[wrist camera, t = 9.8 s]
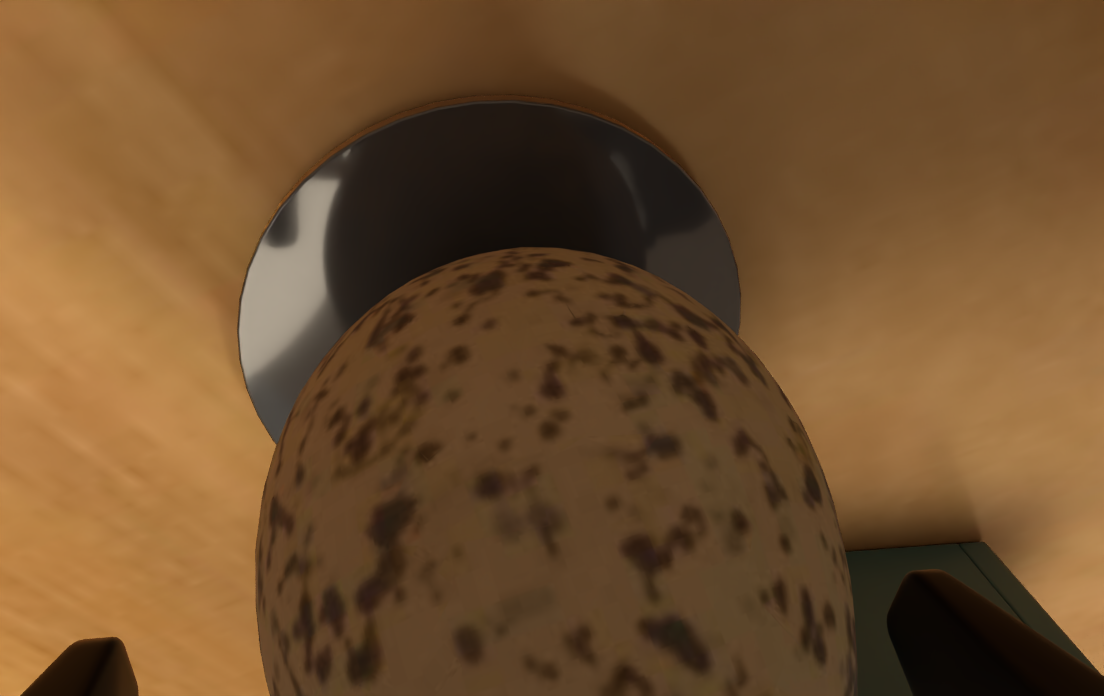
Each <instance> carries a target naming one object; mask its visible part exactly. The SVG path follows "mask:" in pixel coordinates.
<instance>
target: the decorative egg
mask: <svg viewBox="0 0 1104 696" xmlns="http://www.w3.org/2000/svg"><path fill="white" fill-rule="evenodd" d="M255 560H256V612H257V622H258V632H259V642H260V651H261V656H262V662H263V667H264V672H265V677H266V682H267V686H268V689H269V693H270V696H857V648H856V632H855V618H854V607H853V596H852V587H851V580H850V574H849V569H848V564H847V559H846V554H845V549H844V544H843V541H842V537H841V533H840V529H839V524H838V520H837V516H836V511H835V507H834V502H833V499H832V496H831V493H830V490H829V488H828V485H827V482H826V479H825V476H824V473H823V470H822V468H821V465H820V463H819V460H818V458H817V455H816V453H815V451H814V449H813V447H812V444H811V442H810V440H809V438H808V436H807V433H806V431H805V429H804V427H803V425H802V422H801V421H800V419H799V417H798V415H797V414H796V412H795V410H794V409H793V407H792V405H791V403H790V402H789V400H788V399H787V397H786V396H785V394H784V393H783V391H782V390H781V388H780V387H779V385H778V384H777V382H776V381H775V380H774V378H773V377H772V375H771V374H770V373H769V371H768V370H767V369H766V367H765V366H764V364H763V363H762V362H761V361H760V359H759V358H758V357H757V356H756V354H755V353H754V352H753V351H752V350H751V349H750V348H749V347H748V346H747V345H746V344H745V343H744V342H743V341H742V340H741V339H740V338H739V337H738V335H737V334H736V333H735V332H734V331H733V330H732V329H731V328H729V327H728V326H727V325H726V324H725V323H724V322H723V321H721V320H720V319H719V318H718V317H717V316H716V315H715V314H713V313H712V312H711V311H710V310H709V309H707V308H706V307H705V306H703V305H702V304H700V303H699V302H698V301H696V300H695V299H693V298H692V297H691V296H689V295H688V294H686V293H685V292H683V291H681V290H680V289H678V288H676V287H675V286H673V285H671V284H670V283H668V282H666V281H665V280H663V279H661V278H660V277H658V276H655V275H653V274H651V273H649V272H647V271H644V270H642V269H640V268H638V267H636V266H633V265H630V264H627V263H624V262H621V261H618V260H615V259H612V258H609V257H605V256H601V255H598V254H594V253H590V252H583V251H576V250H570V249H563V248H544V247H520V248H512V249H505V250H499V251H493V252H488V253H483V254H477V255H474V256H470V257H466V258H463V259H459V260H456V261H454V262H451V263H449V264H446V265H444V266H441V267H438V268H436V269H433V270H431V271H429V272H427V273H425V274H423V275H421V276H419V277H417V278H415V279H413V280H411V281H409V282H408V283H406V284H405V285H403V286H401V287H400V288H398V289H397V290H395V291H393V292H392V293H390V294H389V295H387V296H386V297H385V298H383V299H382V300H381V301H380V302H378V303H377V304H376V305H374V306H373V307H372V308H371V309H370V310H368V311H367V312H366V313H365V314H364V315H363V316H362V317H361V318H360V319H359V320H358V321H356V322H355V323H354V324H353V325H352V326H351V327H350V328H349V329H348V330H347V331H346V332H345V333H344V334H343V335H342V336H341V337H340V339H339V340H338V341H337V342H336V343H335V344H334V346H333V347H332V348H331V349H330V350H329V352H328V353H327V354H326V355H325V357H324V358H323V359H322V360H321V362H320V363H319V364H318V366H317V367H316V369H315V371H314V372H313V374H312V375H311V377H310V378H309V380H308V381H307V383H306V385H305V386H304V388H303V389H302V391H301V392H300V394H299V396H298V398H297V400H296V402H295V404H294V406H293V408H292V410H291V412H290V414H289V416H288V418H287V420H286V423H285V426H284V428H283V431H282V433H281V436H280V438H279V441H278V443H277V446H276V448H275V451H274V455H273V458H272V462H271V465H270V469H269V472H268V476H267V479H266V483H265V487H264V491H263V496H262V503H261V511H260V518H259V526H258V534H257V541H256V550H255Z"/></svg>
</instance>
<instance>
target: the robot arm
mask: <svg viewBox="0 0 1104 696" xmlns="http://www.w3.org/2000/svg"><path fill="white" fill-rule="evenodd" d="M887 629H888V633H889V636H890V639H891V641H892V644H893V647H894V649H895V652H896V654H897V657H898V659H899V662H900V664H901V667H902V669H903V672H904V674H905V677H906V679H907V682H908V684H909V687H910V689H911V692H912V694H913V696H1104V676H1103V675H1101V674H1100V673H1098V672H1097V671H1095V670H1094V669H1092V668H1091V667H1089V666H1088V665H1086V664H1084V663H1083V662H1081V661H1080V660H1078V659H1077V658H1075V657H1074V656H1072V655H1071V654H1069V653H1068V652H1066V651H1065V650H1063V649H1062V648H1060V647H1059V646H1057V645H1056V644H1054V643H1053V642H1051V641H1050V640H1048V639H1047V638H1045V637H1044V636H1042V635H1041V634H1039V633H1038V632H1036V631H1035V630H1033V629H1032V628H1030V627H1029V626H1027V625H1026V624H1024V623H1023V622H1021V621H1020V620H1018V619H1017V618H1015V617H1014V616H1012V615H1011V614H1009V613H1008V612H1006V611H1004V610H1003V609H1001V608H1000V607H998V606H997V605H995V604H994V603H992V602H991V601H989V600H988V599H986V598H985V597H983V596H982V595H980V594H979V593H977V592H976V591H974V590H973V589H971V588H970V587H968V586H967V585H965V584H964V583H962V582H961V581H959V580H958V579H956V578H955V577H953V576H952V575H950V574H948V573H947V572H945V571H942V570H939V569H928V570H916V571H911V572H909V573H907V574H906V575H905V576H904V578H903V580H902V582H901V584H900V586H899V589H898V591H897V593H896V595H895V597H894V600H893V602H892V604H891V606H890V608H889V611H888V613H887ZM20 696H138V685H137V681H136V678H135V675H134V672H133V670H132V667H131V664H130V661H129V658H128V655H127V652H126V649H125V646H124V644H123V642H122V641H121V640H120V639H119V638H117V637H107V638H95V639H84V640H79V641H77V642H75V643H73V644H72V645H70V646H69V647H68V648H67V649H66V650H65V651H64V652H63V653H62V654H61V655H60V656H59V657H58V658H57V659H56V660H55V661H54V662H53V663H52V664H51V665H50V666H49V667H48V668H47V669H46V670H45V671H44V672H43V673H42V674H41V675H40V676H39V677H38V678H37V679H36V680H35V681H34V682H33V683H32V684H31V685H30V686H29V687H28V688H27V689H26V690H25V691H24V692H23V693H22V694H21V695H20Z"/></svg>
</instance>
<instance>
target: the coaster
mask: <svg viewBox="0 0 1104 696" xmlns="http://www.w3.org/2000/svg"><path fill="white" fill-rule="evenodd" d="M520 247H544V248H563V249H570V250H576V251H583V252H590V253H594V254H598V255H601V256H605V257H609V258H612V259H615V260H618V261H621V262H624V263H627V264H630V265H633V266H636V267H638V268H640V269H642V270H644V271H647V272H649V273H651V274H653V275H655V276H658V277H660V278H661V279H663V280H665V281H666V282H668V283H670V284H671V285H673V286H675V287H676V288H678V289H680V290H681V291H683V292H685V293H686V294H688V295H689V296H691V297H692V298H693V299H695V300H696V301H698V302H699V303H700V304H702V305H703V306H705V307H706V308H707V309H709V310H710V311H711V312H712V313H713V314H715V315H716V316H717V317H718V318H719V319H720V320H721V321H723V322H724V323H725V324H726V325H727V326H728V327H729V328H731V329H732V330H733V331H734V332H735V333H736V334H737V335H738V334H739V328H740V311H741V292H740V284H739V277H738V269H737V264H736V261H735V257H734V254H733V250H732V247H731V243H730V240H729V238H728V236H727V233H726V231H725V229H724V227H723V225H722V223H721V220H720V218H719V216H718V214H717V212H716V211H715V209H714V208H713V206H712V205H711V203H710V202H709V200H708V199H707V197H706V196H705V194H704V193H703V191H702V190H701V188H700V187H699V186H698V185H697V184H696V183H695V182H694V180H693V179H692V178H691V177H690V176H689V175H688V174H687V173H686V172H685V171H684V170H683V169H682V167H681V166H680V165H679V164H678V163H677V162H676V161H675V160H674V159H673V158H672V157H671V156H669V155H668V154H667V153H666V152H664V151H663V150H662V149H661V148H659V147H658V146H657V145H656V144H654V143H653V142H652V141H651V140H649V139H648V138H647V137H645V136H643V135H641V134H640V133H638V132H636V131H635V130H633V129H631V128H629V127H628V126H626V125H624V124H623V123H621V122H619V121H617V120H615V119H612V118H610V117H607V116H605V115H602V114H600V113H597V112H595V111H593V110H590V109H588V108H585V107H581V106H577V105H573V104H569V103H565V102H561V101H557V100H553V99H548V98H539V97H529V96H520V95H483V96H469V97H463V98H457V99H451V100H445V101H439V102H434V103H431V104H428V105H424V106H421V107H418V108H415V109H411V110H408V111H405V112H402V113H398V114H396V115H394V116H392V117H390V118H388V119H385V120H383V121H381V122H379V123H377V124H375V125H373V126H370V127H368V128H366V129H364V130H362V131H361V132H359V133H358V134H356V135H355V136H353V137H351V138H350V139H348V140H347V141H345V142H344V143H342V144H341V145H339V146H337V147H336V148H334V149H333V150H331V151H330V152H329V153H328V154H327V155H326V156H325V157H323V158H322V159H321V160H320V161H319V162H318V163H317V164H315V165H314V166H313V167H312V168H311V169H310V170H308V171H307V172H306V173H305V174H304V175H303V176H302V177H301V179H300V180H299V181H298V182H297V183H296V184H295V186H294V187H293V188H292V189H291V190H290V191H289V193H288V194H287V195H286V196H285V197H284V198H283V200H282V201H281V202H280V204H279V205H278V207H277V209H276V210H275V212H274V213H273V215H272V217H271V218H270V220H269V221H268V223H267V225H266V226H265V228H264V229H263V232H262V234H261V236H260V239H259V241H258V243H257V246H256V248H255V250H254V253H253V255H252V258H251V260H250V262H249V265H248V267H247V271H246V275H245V279H244V283H243V287H242V291H241V295H240V299H239V311H238V323H237V337H238V349H239V360H240V364H241V368H242V372H243V376H244V381H245V385H246V388H247V391H248V393H249V396H250V398H251V400H252V403H253V405H254V408H255V410H256V412H257V415H258V417H259V418H260V420H261V422H262V423H263V425H264V426H265V428H266V430H267V431H268V433H269V435H270V436H271V438H272V440H273V441H274V442H275V443H276V445H277V443H278V441H279V438H280V436H281V433H282V431H283V428H284V426H285V423H286V420H287V418H288V416H289V414H290V412H291V410H292V408H293V406H294V404H295V402H296V400H297V398H298V396H299V394H300V392H301V391H302V389H303V388H304V386H305V385H306V383H307V381H308V380H309V378H310V377H311V375H312V374H313V372H314V371H315V369H316V367H317V366H318V364H319V363H320V362H321V360H322V359H323V358H324V357H325V355H326V354H327V353H328V352H329V350H330V349H331V348H332V347H333V346H334V344H335V343H336V342H337V341H338V340H339V339H340V337H341V336H342V335H343V334H344V333H345V332H346V331H347V330H348V329H349V328H350V327H351V326H352V325H353V324H354V323H355V322H356V321H358V320H359V319H360V318H361V317H362V316H363V315H364V314H365V313H366V312H367V311H368V310H370V309H371V308H372V307H373V306H374V305H376V304H377V303H378V302H380V301H381V300H382V299H383V298H385V297H386V296H387V295H389V294H390V293H392V292H393V291H395V290H397V289H398V288H400V287H401V286H403V285H405V284H406V283H408V282H409V281H411V280H413V279H415V278H417V277H419V276H421V275H423V274H425V273H427V272H429V271H431V270H433V269H436V268H438V267H441V266H444V265H446V264H449V263H451V262H454V261H456V260H459V259H463V258H466V257H470V256H474V255H477V254H483V253H488V252H493V251H499V250H505V249H512V248H520Z"/></svg>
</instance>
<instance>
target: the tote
mask: <svg viewBox="0 0 1104 696" xmlns="http://www.w3.org/2000/svg"><path fill="white" fill-rule="evenodd" d="M845 554H846V559H847V564H848V569H849V574H850V580H851V587H852V596H853V607H854V618H855V632H856V648H857V696H913V694H912V692H911V689H910V687H909V684H908V682H907V679H906V677H905V674H904V672H903V669H902V667H901V664H900V662H899V659H898V657H897V654H896V652H895V649H894V647H893V644H892V641H891V639H890V636H889V633H888V629H887V613H888V611H889V608H890V606H891V604H892V602H893V600H894V597H895V595H896V593H897V591H898V589H899V586H900V584H901V582H902V580H903V578H904V576H905V575H906V574H907V573H909V572H911V571H916V570H928V569H939V570H942V571H945V572H947V573H948V574H950V575H952V576H953V577H955V578H956V579H958V580H959V581H961V582H962V583H964V584H965V585H967V586H968V587H970V588H971V589H973V590H974V591H976V592H977V593H979V594H980V595H982V596H983V597H985V598H986V599H988V600H989V601H991V602H992V603H994V604H995V605H997V606H998V607H1000V608H1001V609H1003V610H1004V611H1006V612H1008V613H1009V614H1011V615H1012V616H1014V617H1015V618H1017V619H1018V620H1020V621H1021V622H1023V623H1024V624H1026V625H1027V626H1029V627H1030V628H1032V629H1033V630H1035V631H1036V632H1038V633H1039V634H1041V635H1042V636H1044V637H1045V638H1047V639H1048V640H1050V641H1051V642H1053V643H1054V644H1056V645H1057V646H1059V647H1060V648H1062V649H1063V650H1065V651H1066V652H1068V653H1069V654H1071V655H1072V656H1074V657H1075V658H1077V659H1078V660H1080V661H1081V662H1083V663H1084V664H1086V665H1088V666H1089V667H1091V668H1092V669H1094V670H1095V671H1097V672H1098V670H1097V669H1096V668H1095V667H1094V666H1093V665H1092V664H1091V662H1090V661H1089V660H1088V659H1087V658H1086V657H1085V656H1084V654H1083V653H1082V652H1081V651H1080V650H1079V649H1078V648H1077V647H1076V645H1075V644H1074V643H1073V642H1072V641H1071V640H1070V639H1069V637H1068V636H1067V635H1066V634H1065V633H1064V632H1063V631H1062V629H1061V628H1060V627H1059V626H1058V625H1057V624H1056V623H1055V621H1054V620H1053V619H1052V618H1051V617H1050V616H1049V615H1048V613H1047V612H1046V611H1045V610H1044V609H1043V608H1042V607H1041V606H1040V604H1039V603H1038V602H1037V601H1036V600H1035V599H1034V598H1033V596H1032V595H1031V594H1030V593H1029V592H1028V591H1027V590H1026V588H1025V587H1024V586H1023V585H1022V584H1021V583H1020V582H1019V580H1018V579H1017V578H1016V577H1015V576H1014V575H1013V574H1012V573H1011V571H1010V570H1009V569H1008V568H1007V567H1006V566H1005V565H1004V563H1003V562H1002V561H1001V560H1000V559H999V558H998V557H997V555H996V554H995V553H994V552H993V551H992V550H991V549H990V547H989V546H988V545H987V544H986V543H984V542H972V543H960V544H959V545H958V544H942V545H928V546H915V547H902V548H889V549H876V550H863V551H850V552H845ZM1098 673H1099V672H1098Z"/></svg>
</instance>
